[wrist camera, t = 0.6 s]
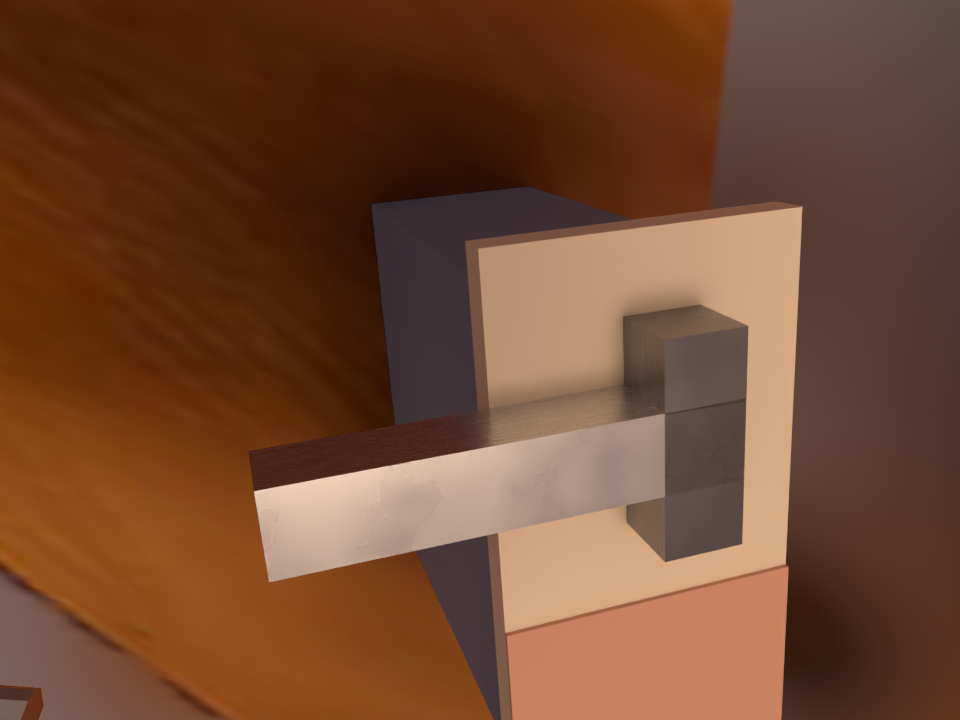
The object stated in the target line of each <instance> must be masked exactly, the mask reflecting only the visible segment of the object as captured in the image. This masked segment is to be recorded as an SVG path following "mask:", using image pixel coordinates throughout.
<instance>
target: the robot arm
mask: <svg viewBox="0 0 960 720" xmlns="http://www.w3.org/2000/svg"><path fill="white" fill-rule="evenodd" d="M43 706H44V705H43V699H42V692H41V688H33V687H19V686H18V687H17V686H5V685H0V720H38V719H39V716H40V714H41V711H42V708H43Z"/></svg>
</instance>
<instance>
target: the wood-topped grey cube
mask: <svg viewBox="0 0 960 720" xmlns="http://www.w3.org/2000/svg"><path fill="white" fill-rule="evenodd" d="M371 207H372V216H373V225H374V235H375V244H376V253H377V263H378V272H379V281H380V290H381V300H382V309H383V318H384V327H385V337H386V346H387V355H388V365H389V374H390V383H391V392H392V402H393V411H394V420H395V425H399V424H405V423H411V422H416V421H422V420H427V419H433V418H439V417H444V416H450V415H456V414H461V413H467V412H472V411H478V410H484V409H489V408H495V407H501V406H506V405H512V404H518V403H523V402H529V401H534V400H540V399H546V398H551V397H557V396H563V395H568V394H574V393H579V392H585V391H591V390H596V389H602V388H608V387H613V386H619V385H624V352H623V317H624V316H630V315H636V314H643V313H649V312H656V311H662V310H668V309H675V308H681V307H688V306H694V305H700V304H701V305H703V306H705V307H707V308H710V309H712V310H714V311H716V312H718V313H721V314H723V315H725V316H727V317H730V318H732V319H734V320H736V321H739V322H741V323H743V324H745V325H748V326H749V328H748V362H747V397H746V431H745V466H744V501H743V535H742V544H741V545H737V546H732V547H728V548H724V549H720V550H716V551H711V552H707V553H703V554H699V555H694V556H690V557H686V558H682V559H677V560H673V561H669V562H664V561H663V560H662V559H661V558H660V557H659V556H658V554H657V553H656V552H655V551H654V550H653V549H652V548H651V547H650V546H649V545H648V544H647V543H646V542H645V541H644V540H643V539H642V538H641V537H640V536H639V535H638V534H637V533H636V532H635V531H634V530H633V529H632V528H631V527H630V526H629V525H628V523H627V517H626V505H625V506H621V507H616V508H611V509H607V510H602V511H598V512H593V513H588V514H584V515H579V516H574V517H570V518H565V519H560V520H556V521H551V522H546V523H542V524H537V525H533V526H528V527H523V528H519V529H514V530H509V531H505V532H500V533H495V534H491V535H486V536H481V537H477V538H472V539H468V540H463V541H458V542H454V543H449V544H444V545H440V546H435V547H430V548H426V549H421V550H416V552H417V554H418V557H419V559H420V561H421V563H422V565H423V567H424V569H425V572H426V574H427V576H428V578H429V580H430V582H431V585H432V587H433V589H434V591H435V593H436V595H437V598H438V600H439V602H440V604H441V606H442V608H443V611H444V613H445V615H446V617H447V619H448V621H449V624H450V626H451V628H452V630H453V632H454V634H455V637H456V639H457V641H458V643H459V645H460V647H461V650H462V652H463V654H464V656H465V658H466V660H467V663H468V665H469V667H470V669H471V671H472V673H473V676H474V678H475V680H476V682H477V684H478V686H479V689H480V691H481V693H482V695H483V697H484V699H485V701H486V704H487V706H488V708H489V710H490V712H491V714H492V717H493V719H494V720H781V712H782V692H783V671H784V648H785V630H786V608H787V587H788V566H787V565H786V544H787V523H788V522H787V521H788V499H789V479H790V459H791V437H792V416H793V394H794V373H795V352H796V331H797V308H798V288H799V267H800V246H801V224H802V207H801V206H796V205H791V204H787V203H781V202H769V203H762V204H754V205H746V206H738V207H730V208H722V209H714V210H706V211H698V212H690V213H682V214H675V215H667V216H659V217H651V218H643V219H635V220H632V219H629V218H626V217H623V216H619V215H616V214H613V213H610V212H607V211H604V210H601V209H598V208H595V207H591V206H588V205H585V204H582V203H579V202H576V201H573V200H570V199H567V198H564V197H560V196H557V195H554V194H551V193H548V192H545V191H542V190H539V189H536V188H533V187H529V186H528V187H519V188H510V189H501V190H492V191H483V192H474V193H465V194H457V195H448V196H439V197H430V198H421V199H412V200H403V201H394V202H385V203H376V204H371Z"/></svg>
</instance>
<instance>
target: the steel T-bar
mask: <svg viewBox="0 0 960 720" xmlns="http://www.w3.org/2000/svg"><path fill="white" fill-rule="evenodd" d="M748 328H749V326H748V325H745V324H743V323H741V322H739V321H736V320H734V319H732V318H730V317H727V316H725V315H723V314H721V313H718V312H716V311H714V310H712V309H710V308H707V307H705V306H703V305H701V304H700V305H694V306H688V307H681V308H675V309H668V310H662V311H656V312H649V313H643V314H636V315H630V316H624V317H623V352H624V385H619V386H613V387H608V388H602V389H596V390H591V391H585V392H579V393H574V394H568V395H563V396H557V397H551V398H546V399H540V400H534V401H529V402H523V403H518V404H512V405H506V406H501V407H495V408H489V409H484V410H478V411H472V412H467V413H461V414H456V415H450V416H444V417H439V418H433V419H427V420H422V421H416V422H411V423H405V424H399V425H394V426H388V427H382V428H377V429H371V430H365V431H360V432H354V433H349V434H343V435H337V436H332V437H326V438H320V439H315V440H309V441H304V442H298V443H292V444H287V445H281V446H275V447H270V448H264V449H258V450H253V451H249V458H250V465H251V473H252V480H253V487H254V494H255V500H256V506H257V512H258V518H259V524H260V530H261V536H262V542H263V548H264V554H265V560H266V566H267V572H268V578H269V582H272V581H277V580H282V579H286V578H291V577H296V576H300V575H305V574H310V573H314V572H319V571H324V570H328V569H333V568H337V567H342V566H347V565H351V564H356V563H361V562H365V561H370V560H375V559H379V558H384V557H389V556H393V555H398V554H403V553H407V552H412V551H416V550H421V549H426V548H430V547H435V546H440V545H444V544H449V543H454V542H458V541H463V540H468V539H472V538H477V537H481V536H486V535H491V534H495V533H500V532H505V531H509V530H514V529H519V528H523V527H528V526H533V525H537V524H542V523H546V522H551V521H556V520H560V519H565V518H570V517H574V516H579V515H584V514H588V513H593V512H598V511H602V510H607V509H611V508H616V507H621V506H625V505H626V517H627V523H628V525H629V526H630V527H631V528H632V529H633V530H634V531H635V532H636V533H637V534H638V535H639V536H640V537H641V538H642V539H643V540H644V541H645V542H646V543H647V544H648V545H649V546H650V547H651V548H652V549H653V550H654V551H655V552H656V553H657V554H658V556H659V557H660V558H661V559H662V560H663V561H664V562H669V561H673V560H677V559H682V558H686V557H690V556H694V555H699V554H703V553H707V552H711V551H716V550H720V549H724V548H728V547H732V546H737V545H741V544H742V535H743V501H744V466H745V431H746V397H747V362H748Z"/></svg>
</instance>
